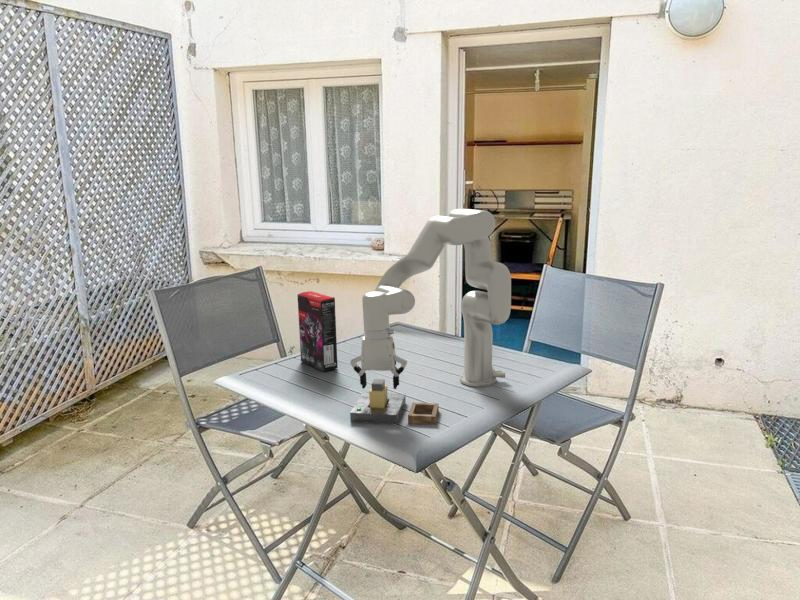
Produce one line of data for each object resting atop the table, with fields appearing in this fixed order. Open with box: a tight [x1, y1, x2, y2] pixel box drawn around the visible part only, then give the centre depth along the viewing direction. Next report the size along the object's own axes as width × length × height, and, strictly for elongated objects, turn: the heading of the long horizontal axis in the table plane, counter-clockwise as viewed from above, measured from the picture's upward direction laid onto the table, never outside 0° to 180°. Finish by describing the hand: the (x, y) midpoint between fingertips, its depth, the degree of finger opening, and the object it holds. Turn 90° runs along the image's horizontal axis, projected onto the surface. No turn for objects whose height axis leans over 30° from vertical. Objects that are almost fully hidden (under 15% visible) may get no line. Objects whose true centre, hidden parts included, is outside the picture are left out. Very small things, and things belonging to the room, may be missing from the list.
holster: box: [407, 402, 440, 426], centre depth 179 cm, size 8×10×2 cm
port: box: [349, 391, 407, 425], centre depth 183 cm, size 14×16×3 cm
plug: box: [368, 378, 388, 408], centre depth 182 cm, size 4×6×10 cm
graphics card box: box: [297, 290, 338, 372], centre depth 223 cm, size 17×7×27 cm, turn 40°
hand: (379, 387), depth 182 cm, fingers open, 9 cm apart
